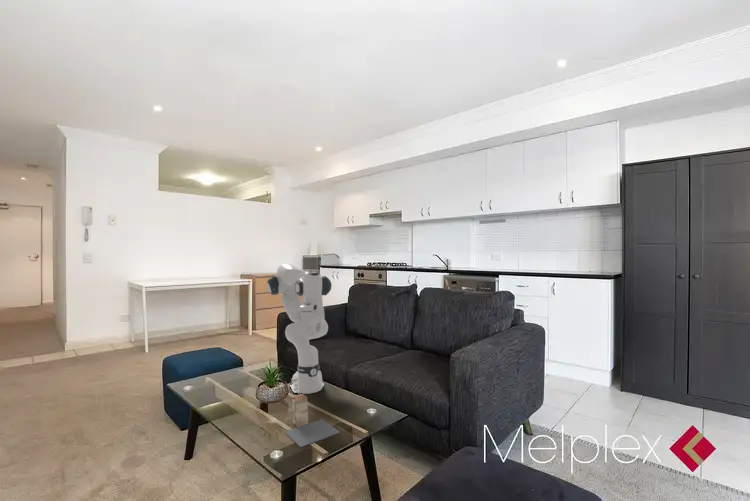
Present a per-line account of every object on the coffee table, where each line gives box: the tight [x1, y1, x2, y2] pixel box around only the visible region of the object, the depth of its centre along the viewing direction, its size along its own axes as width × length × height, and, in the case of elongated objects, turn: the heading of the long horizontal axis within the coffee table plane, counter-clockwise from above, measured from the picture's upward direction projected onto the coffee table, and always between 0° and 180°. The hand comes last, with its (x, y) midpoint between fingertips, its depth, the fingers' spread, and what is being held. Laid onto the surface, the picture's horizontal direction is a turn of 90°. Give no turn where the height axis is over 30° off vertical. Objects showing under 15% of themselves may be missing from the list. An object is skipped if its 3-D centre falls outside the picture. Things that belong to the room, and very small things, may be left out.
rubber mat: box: [284, 418, 341, 448], centre depth 155 cm, size 16×18×1 cm
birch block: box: [291, 393, 309, 428], centre depth 164 cm, size 5×5×12 cm
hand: (314, 333), depth 177 cm, fingers open, 8 cm apart
